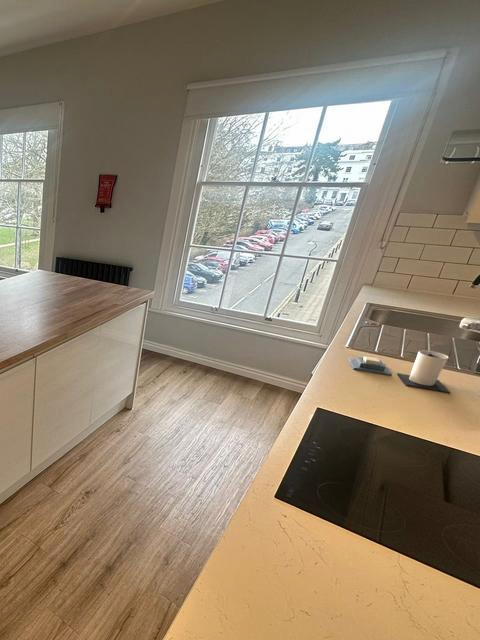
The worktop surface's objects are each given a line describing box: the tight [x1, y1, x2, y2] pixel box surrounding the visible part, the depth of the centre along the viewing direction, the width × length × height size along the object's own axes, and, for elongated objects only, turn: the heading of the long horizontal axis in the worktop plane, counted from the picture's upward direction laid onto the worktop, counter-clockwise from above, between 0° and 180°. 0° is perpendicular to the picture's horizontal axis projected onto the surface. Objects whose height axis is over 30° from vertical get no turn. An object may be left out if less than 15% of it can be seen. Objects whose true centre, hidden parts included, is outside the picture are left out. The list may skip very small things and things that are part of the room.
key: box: [362, 355, 381, 365], centre depth 144 cm, size 4×4×2 cm
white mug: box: [409, 349, 449, 386], centre depth 132 cm, size 7×7×10 cm
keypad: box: [347, 356, 393, 377], centre depth 145 cm, size 10×10×2 cm
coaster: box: [396, 372, 451, 395], centre depth 133 cm, size 10×10×1 cm
